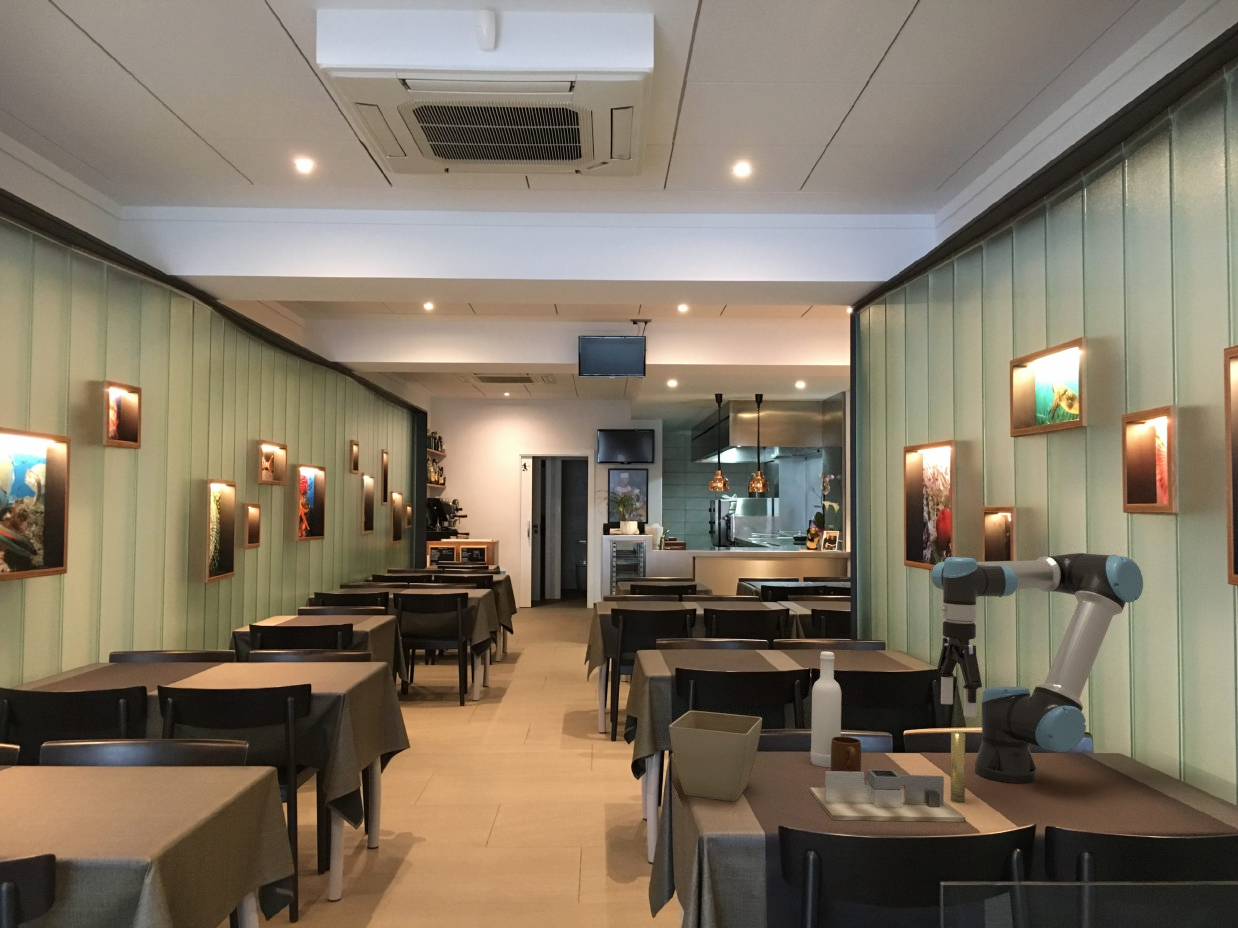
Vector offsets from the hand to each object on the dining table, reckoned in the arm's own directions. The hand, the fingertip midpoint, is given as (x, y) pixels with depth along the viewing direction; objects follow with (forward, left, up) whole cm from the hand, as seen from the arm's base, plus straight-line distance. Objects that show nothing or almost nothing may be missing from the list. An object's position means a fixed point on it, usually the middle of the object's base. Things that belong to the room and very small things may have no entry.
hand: (958, 709), depth 218 cm
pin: (0, 0, -22) cm, 22 cm away
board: (+19, +5, -22) cm, 29 cm away
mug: (+22, -16, -22) cm, 35 cm away
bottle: (+24, -30, -22) cm, 44 cm away
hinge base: (+21, +6, -20) cm, 30 cm away
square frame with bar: (+15, +6, -20) cm, 26 cm away
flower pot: (+58, -4, -22) cm, 62 cm away
